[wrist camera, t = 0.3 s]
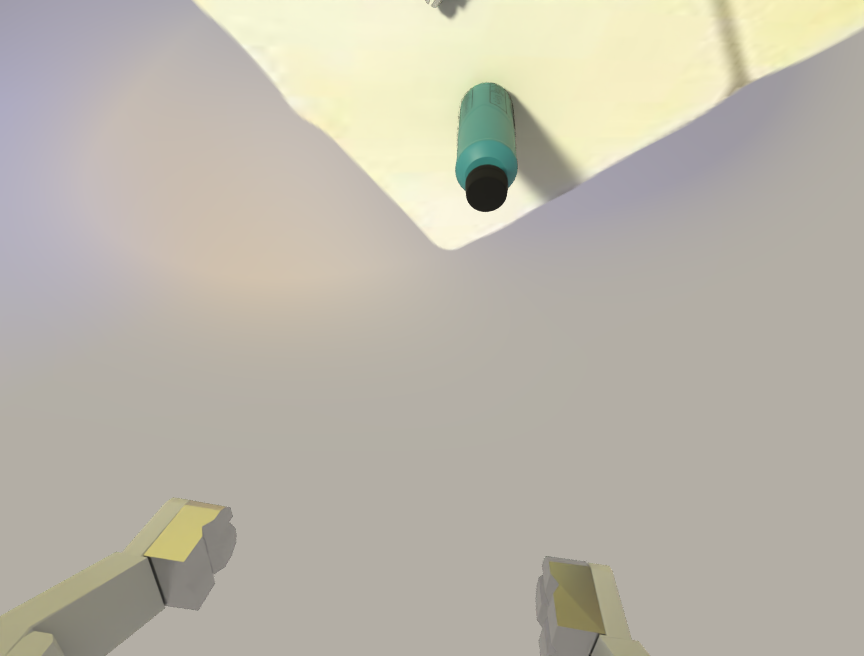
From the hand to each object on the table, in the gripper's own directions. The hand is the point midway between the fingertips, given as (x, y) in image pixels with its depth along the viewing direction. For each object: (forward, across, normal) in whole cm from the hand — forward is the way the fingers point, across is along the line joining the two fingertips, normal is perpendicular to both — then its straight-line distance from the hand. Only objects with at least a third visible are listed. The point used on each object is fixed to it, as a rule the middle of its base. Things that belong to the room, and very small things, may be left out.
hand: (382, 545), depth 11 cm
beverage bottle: (+52, -1, -13) cm, 54 cm away
